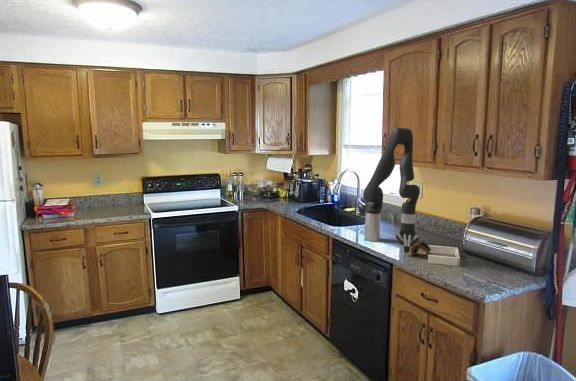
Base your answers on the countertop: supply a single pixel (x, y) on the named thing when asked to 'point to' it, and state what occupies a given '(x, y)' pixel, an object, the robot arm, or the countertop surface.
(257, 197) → the countertop surface
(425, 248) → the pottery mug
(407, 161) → the robot arm
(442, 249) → the box
